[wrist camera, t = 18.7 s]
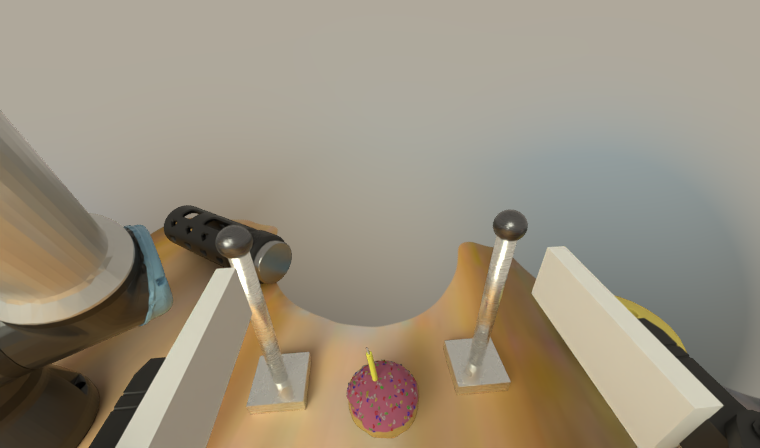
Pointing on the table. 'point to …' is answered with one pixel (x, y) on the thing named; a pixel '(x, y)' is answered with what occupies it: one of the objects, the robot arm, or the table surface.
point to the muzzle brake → (265, 252)
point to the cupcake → (383, 398)
